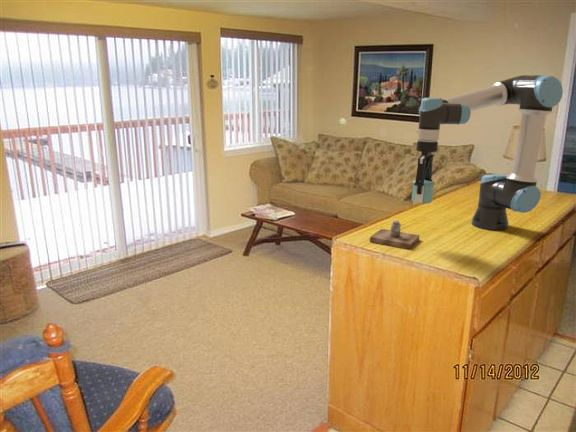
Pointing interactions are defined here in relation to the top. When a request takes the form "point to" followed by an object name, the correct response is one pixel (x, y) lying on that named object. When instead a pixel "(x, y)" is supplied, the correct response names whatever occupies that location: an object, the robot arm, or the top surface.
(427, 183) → the cap
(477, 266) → the top surface
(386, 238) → the stud base
